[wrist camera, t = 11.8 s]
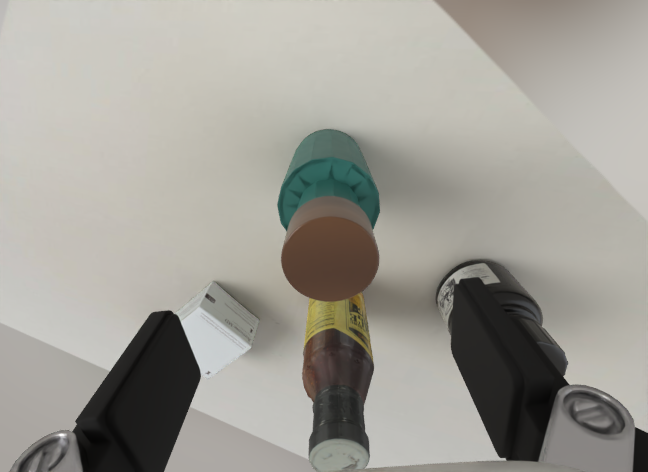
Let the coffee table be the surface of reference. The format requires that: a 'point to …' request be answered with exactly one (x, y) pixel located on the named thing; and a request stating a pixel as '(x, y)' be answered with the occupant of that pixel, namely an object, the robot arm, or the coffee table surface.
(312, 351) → the sauce bottle
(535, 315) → the ink bottle
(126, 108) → the coffee table surface
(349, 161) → the bottle
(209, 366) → the small box
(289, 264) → the stopper
